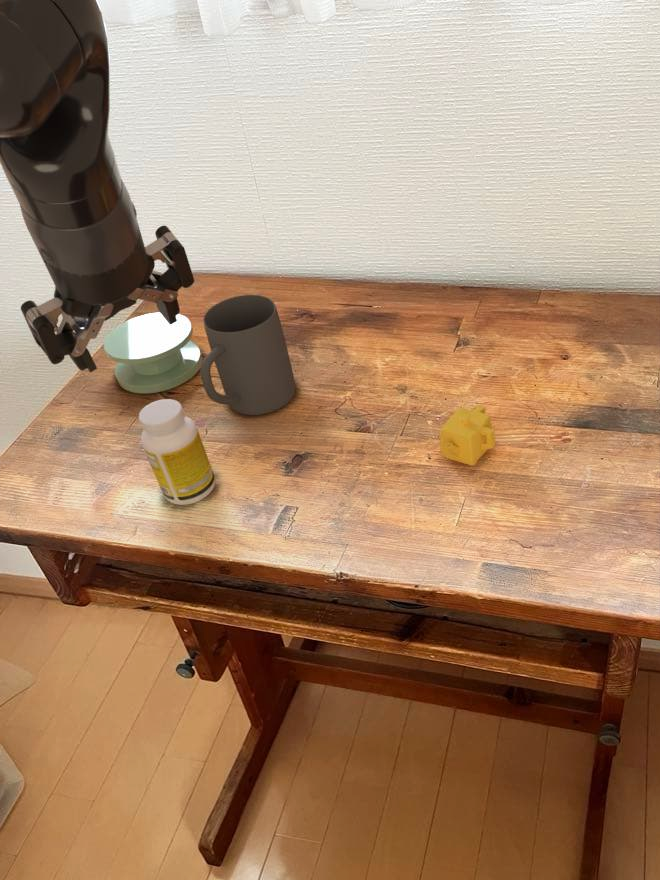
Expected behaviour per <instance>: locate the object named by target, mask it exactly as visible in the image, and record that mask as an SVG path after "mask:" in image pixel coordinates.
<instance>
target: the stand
mask: <svg viewBox="0 0 660 880" xmlns="http://www.w3.org/2000/svg"><path fill="white" fill-rule="evenodd" d="M176 319H177V321H176V322H174V323H173V324H171V325H170V324H169V323H168V322H167V320H166V319H165V318H164V317H163V315H162V314H161V313H160V311H158V312H150V313H145V314H142V315H138V316H135V317H132V318H129V319H128V320H125V321H124V322H122V323H120V324H118V325H117V326H116V327H114V328H113V329H112V330H111V331H109V333H107V335H106V337H105V339H104V341H103V350H104V353H105V354H106V356H107V357H108V358H109V359H110V360H111V361H112V362H113V361H114V362H115V363H116V364H115V367H114V376H115V378H116V381H117V383H118V385H119V386H120V387H121V388H122V389H123V390H125V391H127V392H130V393H135V394H155V393H160V392H165V391H168V390H172V389H174V388H177V387H178V386H181V385H183V384H185V383H186V382H187V381H189V380H191V379H193V377H194V376H195V375H196V374H197V373H198V372H200V369H201V364H202V361H203V360H204V359H203V355H202V352H201V349H200V347H199V346H198V345H197V344H196V343H195V342H194V341H191V339H192V336H193V333H194V329H193V328H194V327H193V325H192V322H191V321H190V319H189V318H188V317H187V316H185V315H183V314H180V313H179V314H178V315H176Z"/></svg>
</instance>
